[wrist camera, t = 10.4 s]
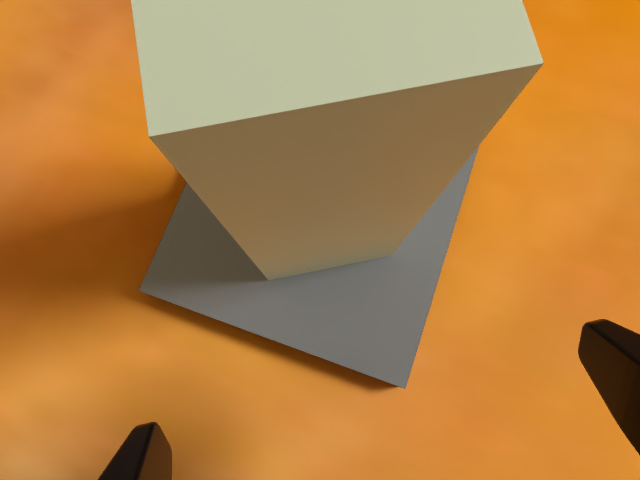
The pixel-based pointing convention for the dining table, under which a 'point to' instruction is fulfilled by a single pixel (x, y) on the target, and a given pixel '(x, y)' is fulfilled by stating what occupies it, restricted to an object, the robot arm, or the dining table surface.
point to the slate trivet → (312, 288)
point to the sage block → (326, 112)
